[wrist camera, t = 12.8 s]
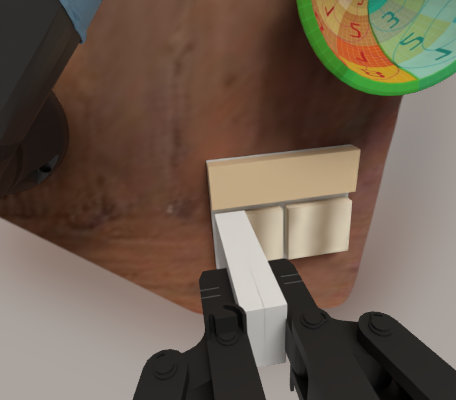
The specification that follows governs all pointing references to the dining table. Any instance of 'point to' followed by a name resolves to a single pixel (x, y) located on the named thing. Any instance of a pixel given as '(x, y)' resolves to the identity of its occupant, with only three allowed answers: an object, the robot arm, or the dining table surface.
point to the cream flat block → (268, 229)
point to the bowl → (383, 42)
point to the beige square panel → (317, 227)
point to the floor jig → (280, 180)
